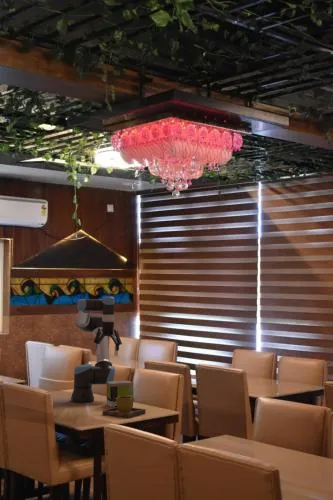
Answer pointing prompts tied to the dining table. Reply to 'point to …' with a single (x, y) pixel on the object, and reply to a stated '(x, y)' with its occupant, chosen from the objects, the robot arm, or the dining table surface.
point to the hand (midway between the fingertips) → (107, 355)
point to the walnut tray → (116, 413)
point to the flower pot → (124, 403)
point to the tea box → (118, 391)
